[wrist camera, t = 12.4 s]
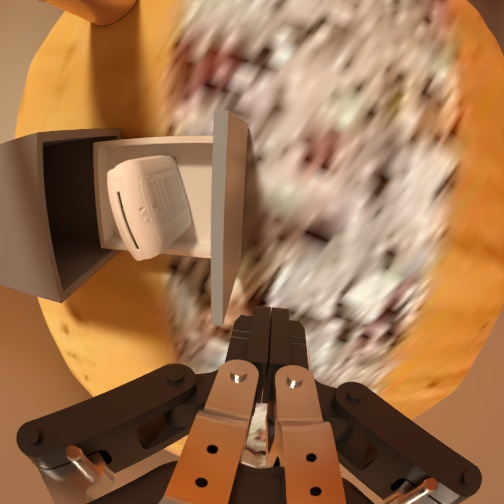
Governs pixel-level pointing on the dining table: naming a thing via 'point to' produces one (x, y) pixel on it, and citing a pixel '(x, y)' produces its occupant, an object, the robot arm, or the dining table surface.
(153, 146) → the drawer tray
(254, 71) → the dining table surface
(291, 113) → the dining table surface
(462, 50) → the dining table surface
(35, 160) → the cabinet
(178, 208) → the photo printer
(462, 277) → the dining table surface
